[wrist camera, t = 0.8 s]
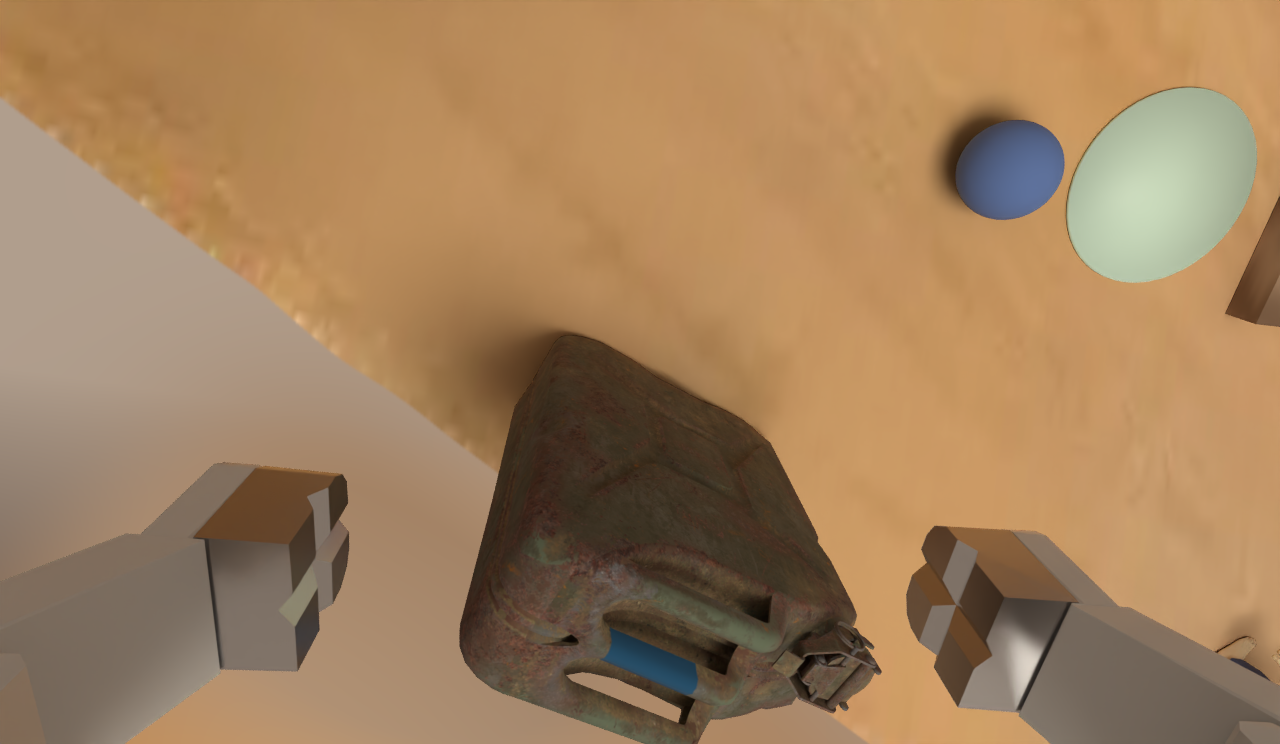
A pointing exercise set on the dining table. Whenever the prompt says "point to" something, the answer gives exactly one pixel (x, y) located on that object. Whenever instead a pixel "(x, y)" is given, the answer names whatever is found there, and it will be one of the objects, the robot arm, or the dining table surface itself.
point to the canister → (651, 560)
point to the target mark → (1161, 184)
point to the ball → (1009, 169)
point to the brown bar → (1261, 279)
